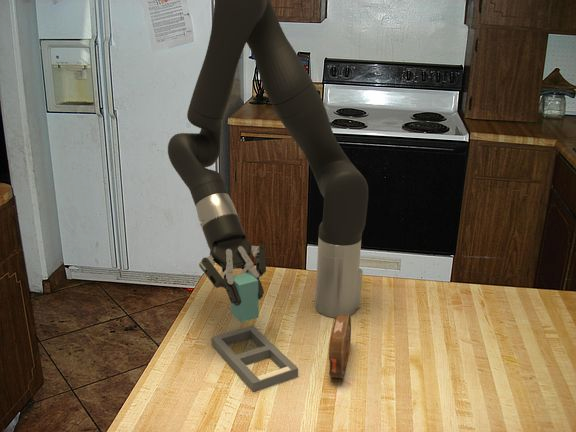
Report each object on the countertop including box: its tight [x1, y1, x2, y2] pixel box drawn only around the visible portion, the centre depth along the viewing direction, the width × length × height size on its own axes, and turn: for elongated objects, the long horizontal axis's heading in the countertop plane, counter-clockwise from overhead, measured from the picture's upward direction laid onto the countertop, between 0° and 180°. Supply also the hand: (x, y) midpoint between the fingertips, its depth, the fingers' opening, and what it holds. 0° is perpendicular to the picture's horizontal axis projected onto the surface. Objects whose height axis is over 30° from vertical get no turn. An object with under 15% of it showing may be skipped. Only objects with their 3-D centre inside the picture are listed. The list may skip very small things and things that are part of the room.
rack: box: [210, 324, 299, 393], centre depth 122 cm, size 10×18×2 cm, turn 31°
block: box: [230, 272, 260, 323], centre depth 122 cm, size 4×4×8 cm
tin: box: [328, 315, 352, 380], centre depth 121 cm, size 15×3×8 cm, turn 168°
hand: (249, 301), depth 120 cm, fingers closed on block, 4 cm apart
